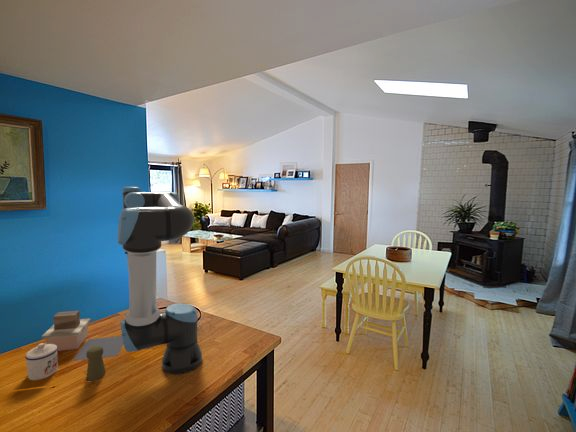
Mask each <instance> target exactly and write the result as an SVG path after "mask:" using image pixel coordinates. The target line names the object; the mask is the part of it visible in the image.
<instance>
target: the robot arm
mask: <svg viewBox="0 0 576 432" xmlns="http://www.w3.org/2000/svg"><path fill="white" fill-rule="evenodd" d="M141 190H142V189H141V188H140V187H139V186H124V187H123V188H122V193H121V195H122V205H123V206H122V207H123V209H122V210H121V211H120V213H119V218H118V219H119V220H118V227H117V244H118V245H121V246H122V249H123V250H124V251H125V252H124V254H125V255H126V258H127V261H126V262H127V268H128V295H129V298H128V299H129V304H128V305H129V311H127V313H126V314H125V316H124V319H122V320H121V321H120V331H121V336H122V338H123V343H124V344H123V347H124V349H125V351H126V352H128V353H133V352H139V351H143V350H145V349H150V348H154V347H157V346H162V345H166V347H165V349H164V353H163V356H162V359H161V360H162V361H161V367H162V370H163V371H164V372H166V373H168V374H172V375H181V374H186V373H189V372H192V371H193V370H195V369H196V368H198V367H199V366H200V365H201V363H202V361H203V353H202V349H201V347H200V345H199V342H198V311H197V308H196V307H194V306H193V305H191V304H188V303H172V304H170V305H168V306H167V307H166V308H165V311H162V312H161V309H160V308H158V307H157V252H158V251H159V250H160V249H161V247H162V242H166V241H168V242H169V241H175V240H178V239H181V238H183V237H184V236H185V235H187V234H188V233H189V232H190V231H191V229H192V228H193V226H194V223H195V217H194V214H193V212H192V211H191V209H190V208H189V207H187V206H186V205H183V204H181V203H180V201H179V200H180V199H179V195H178V193H177V192H172V191H171V192H170V191H168V192H167V191H165V192H164V191H163V192H159V191H157V192H155V191H154V192H153V191H152V192H150V191H149V192H148V191H147V192H146V191H141Z"/></svg>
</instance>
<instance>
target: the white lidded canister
mask: <svg viewBox="0 0 576 432" xmlns="http://www.w3.org/2000/svg"><path fill="white" fill-rule="evenodd" d="M57 349H58V347H57V346H56V345H54V344H46V342H44V343H43V342H41V343H39V344H38V345H37V346H36V347H33V348H32V349H30V350H28V351H27V352H26V353H25V357H24V358H25V359H26V360H25V361H26V370H27V372H26V373H27V379H28V380H30V381H38V380H43V379H46V378H48V377H51V376H52V375H54V374H55V373H56V372H58V371H59V370H58V369H59V361H58V360H59V358H58V351H57Z"/></svg>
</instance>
